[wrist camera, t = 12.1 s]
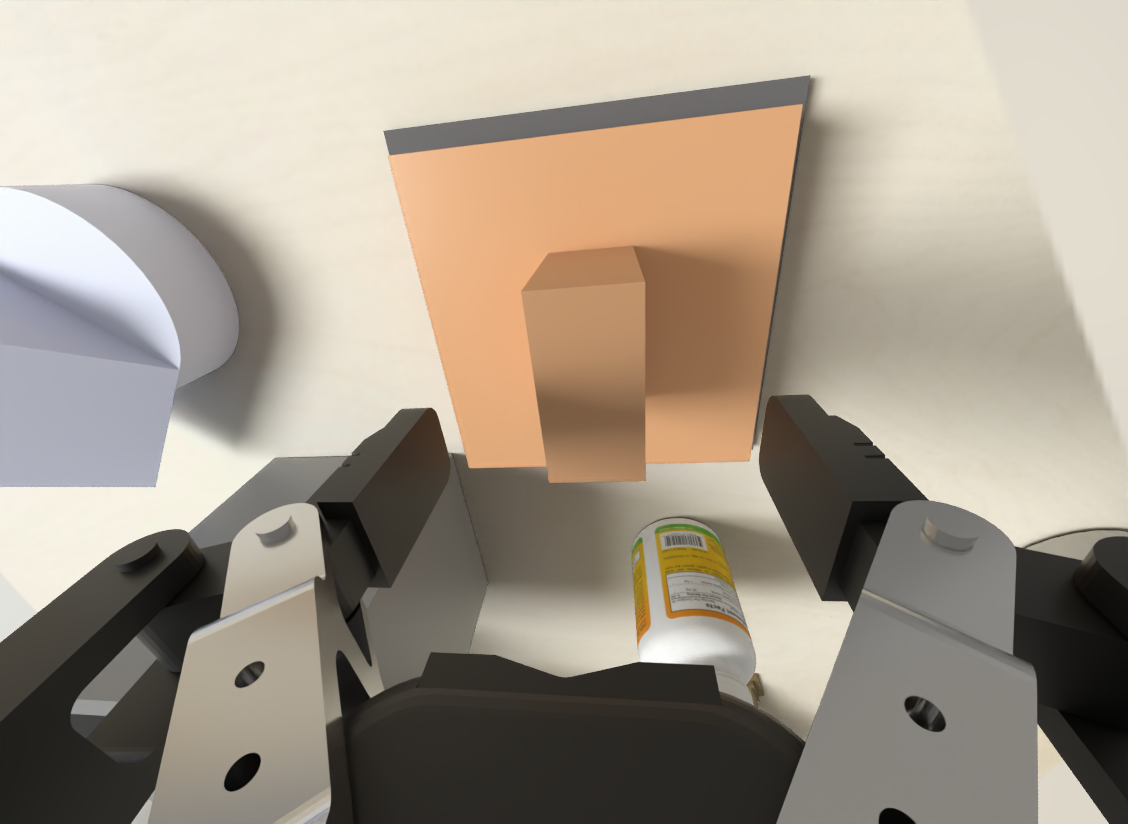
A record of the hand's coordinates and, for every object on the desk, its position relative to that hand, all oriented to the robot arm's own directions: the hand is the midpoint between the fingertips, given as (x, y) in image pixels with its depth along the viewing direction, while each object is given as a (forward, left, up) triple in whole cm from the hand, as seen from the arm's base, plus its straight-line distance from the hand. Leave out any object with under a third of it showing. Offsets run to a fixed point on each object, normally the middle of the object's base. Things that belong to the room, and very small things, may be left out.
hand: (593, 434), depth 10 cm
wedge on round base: (+23, -1, -10) cm, 25 cm away
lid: (0, 0, -9) cm, 9 cm away
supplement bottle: (-4, +15, -10) cm, 18 cm away
